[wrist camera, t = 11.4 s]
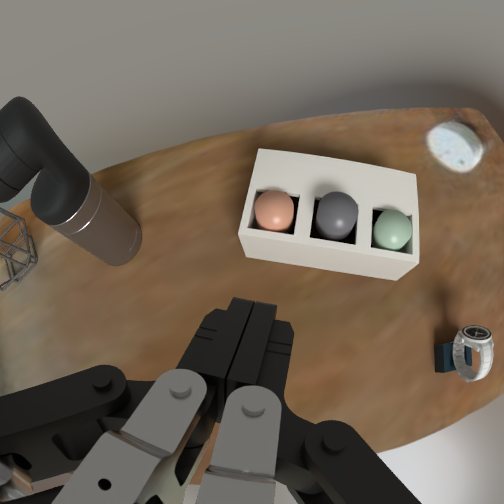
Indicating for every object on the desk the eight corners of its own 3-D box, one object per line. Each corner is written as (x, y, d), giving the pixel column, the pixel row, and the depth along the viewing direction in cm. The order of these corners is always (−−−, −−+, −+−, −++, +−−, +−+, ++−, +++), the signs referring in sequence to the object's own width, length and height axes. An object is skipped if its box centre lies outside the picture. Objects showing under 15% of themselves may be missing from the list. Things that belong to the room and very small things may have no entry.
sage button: (368, 252, 39) (376, 241, 36) (370, 219, 41) (377, 206, 37) (401, 257, 39) (412, 247, 35) (402, 225, 40) (411, 213, 36)
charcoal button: (313, 237, 39) (316, 224, 35) (317, 203, 40) (320, 188, 37) (350, 243, 38) (357, 231, 34) (353, 209, 40) (359, 195, 36)
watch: (459, 328, 39) (498, 318, 29) (462, 376, 37) (501, 376, 26) (432, 333, 40) (469, 324, 30) (435, 383, 37) (472, 386, 27)
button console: (246, 256, 47) (237, 234, 39) (262, 180, 52) (258, 148, 43) (396, 280, 44) (419, 263, 35) (397, 202, 48) (415, 174, 39)
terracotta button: (253, 234, 42) (251, 221, 38) (260, 202, 43) (258, 188, 40) (290, 239, 41) (290, 227, 37) (295, 207, 43) (296, 193, 39)
